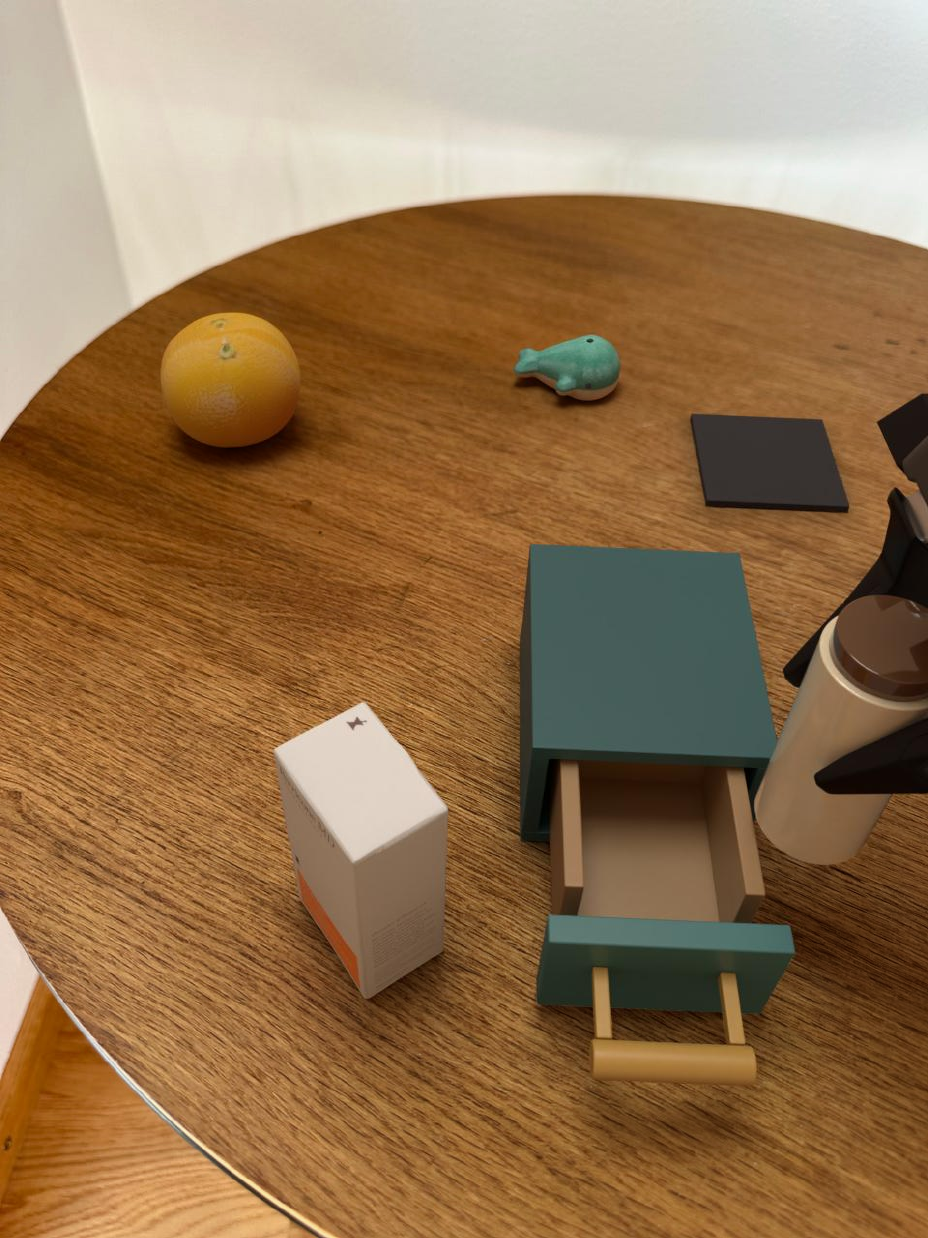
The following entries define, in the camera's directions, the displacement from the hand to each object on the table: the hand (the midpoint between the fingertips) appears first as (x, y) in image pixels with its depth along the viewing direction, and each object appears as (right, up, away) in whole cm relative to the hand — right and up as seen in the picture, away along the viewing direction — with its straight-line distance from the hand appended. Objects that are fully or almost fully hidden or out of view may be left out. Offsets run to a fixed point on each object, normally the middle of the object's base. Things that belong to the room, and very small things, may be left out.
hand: (803, 729), depth 40 cm
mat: (+7, +14, +31) cm, 35 cm away
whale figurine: (-5, +21, +37) cm, 43 cm away
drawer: (-5, -10, +8) cm, 13 cm away
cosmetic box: (-17, -10, +9) cm, 21 cm away
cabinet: (-4, -2, +16) cm, 17 cm away
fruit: (-28, +16, +32) cm, 45 cm away
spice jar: (+2, -4, +4) cm, 6 cm away
